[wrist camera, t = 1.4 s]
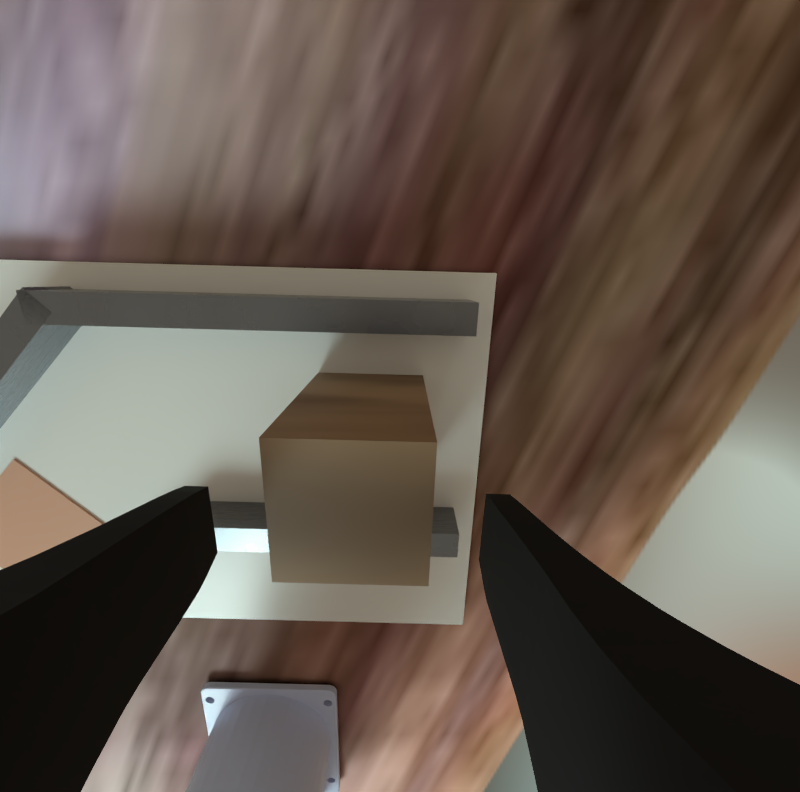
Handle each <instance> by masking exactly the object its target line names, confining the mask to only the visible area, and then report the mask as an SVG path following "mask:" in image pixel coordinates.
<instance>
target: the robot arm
mask: <svg viewBox="0 0 800 792" xmlns="http://www.w3.org/2000/svg"><path fill="white" fill-rule="evenodd" d="M217 553H218V551H217V544H216V537H215V530H214V523H213V516H212V509H211V502H210V495H209V488H208V486H183V487H180V488H178V489H175V490H173V491H170V492H168V493H166V494H164V495H162V496H159V497H157V498H155V499H153V500H151V501H149V502H147V503H145V504H143V505H141V506H139V507H137V508H135V509H133V510H130V511H128V512H126V513H124V514H122V515H120V516H118V517H116V518H114V519H112V520H110V521H108V522H106V523H104V524H102V525H100V526H98V527H96V528H94V529H92V530H89V531H87V532H85V533H83V534H81V535H78V536H76V537H74V538H72V539H70V540H68V541H65V542H63V543H61V544H59V545H57V546H54V547H52V548H50V549H48V550H46V551H44V552H41V553H39V554H37V555H35V556H32V557H30V558H28V559H25V560H23V561H21V562H18V563H16V564H13V565H11V566H9V567H6V568H4V569H1V570H0V792H81V790H82V788H83V786H84V784H85V782H86V780H87V778H88V776H89V774H90V772H91V770H92V768H93V766H94V765H95V763H96V761H97V759H98V757H99V755H100V753H101V752H102V750H103V748H104V746H105V744H106V742H107V740H108V738H109V737H110V735H111V733H112V731H113V729H114V727H115V725H116V724H117V722H118V720H119V718H120V716H121V714H122V712H123V711H124V709H125V707H126V706H127V704H128V702H129V701H130V699H131V697H132V696H133V694H134V692H135V691H136V689H137V687H138V686H139V684H140V682H141V681H142V679H143V678H144V676H145V675H146V673H147V672H148V670H149V669H150V667H151V665H152V664H153V662H154V661H155V659H156V658H157V656H158V655H159V653H160V652H161V650H162V648H163V647H164V645H165V644H166V642H167V641H168V639H169V638H170V636H171V635H172V633H173V631H174V630H175V628H176V627H177V625H178V624H179V622H180V621H181V619H182V617H183V616H184V614H185V613H186V611H187V610H188V608H189V606H190V605H191V603H192V602H193V600H194V599H195V597H196V595H197V594H198V592H199V590H200V589H201V587H202V585H203V583H204V581H205V579H206V577H207V574H208V572H209V570H210V568H211V566H212V564H213V562H214V559H215V557H216V555H217ZM479 562H480V568H481V573H482V579H483V585H484V590H485V595H486V599H487V603H488V606H489V610H490V613H491V616H492V620H493V623H494V626H495V630H496V633H497V636H498V639H499V643H500V646H501V649H502V652H503V655H504V659H505V662H506V665H507V668H508V672H509V675H510V678H511V681H512V685H513V688H514V691H515V694H516V698H517V702H518V705H519V709H520V713H521V717H522V720H523V725H524V730H525V734H526V739H527V743H528V747H529V752H530V757H531V761H532V766H533V770H534V775H535V780H536V785H537V790H538V792H800V685H799V684H797V683H795V682H793V681H791V680H789V679H787V678H785V677H783V676H781V675H779V674H777V673H775V672H773V671H771V670H769V669H767V668H765V667H763V666H761V665H758V664H757V663H755V662H753V661H751V660H749V659H747V658H745V657H744V656H742V655H740V654H738V653H736V652H734V651H732V650H730V649H728V648H727V647H725V646H723V645H721V644H719V643H717V642H716V641H714V640H712V639H711V638H709V637H707V636H705V635H704V634H702V633H700V632H698V631H696V630H695V629H693V628H691V627H689V626H688V625H686V624H684V623H682V622H681V621H679V620H677V619H676V618H674V617H672V616H671V615H669V614H667V613H666V612H664V611H662V610H661V609H659V608H658V607H656V606H654V605H653V604H651V603H650V602H648V601H647V600H645V599H644V598H642V597H641V596H639V595H638V594H636V593H635V592H633V591H631V590H630V589H628V588H627V587H625V586H624V585H622V584H621V583H620V582H618V581H617V580H615V579H614V578H612V577H611V576H609V575H608V574H607V573H605V572H604V571H603V570H601V569H600V568H599V567H597V566H596V565H595V564H593V563H592V562H591V561H589V560H588V559H587V558H585V557H584V556H583V555H581V554H580V553H579V552H578V551H576V550H575V549H574V548H573V547H571V546H570V545H569V544H568V543H566V542H565V541H564V540H563V539H561V538H560V537H559V536H558V535H557V534H555V533H554V532H553V531H552V530H551V529H550V528H548V527H547V526H546V525H545V524H544V523H543V522H541V521H540V520H539V519H538V518H537V517H536V516H534V515H533V514H532V513H531V512H530V511H529V510H528V509H526V508H525V507H524V506H523V505H522V504H521V503H519V502H518V501H517V500H516V499H515V498H513V497H512V496H511V495H506V494H486V500H485V509H484V518H483V528H482V537H481V546H480V556H479ZM201 697H202V702H203V708H204V713H205V719H206V724H207V730H208V735H209V738H208V740H207V742H206V745H205V747H204V749H203V752H202V754H201V756H200V759H199V761H198V764H197V766H196V768H195V771H194V773H193V775H192V778H191V780H190V782H189V785H188V787H187V789H186V792H339V788H340V768H339V737H338V706H337V690H336V688H335V687H334V686H332V685H318V684H279V683H240V682H207V683H205V685H204V686H203V688H202V690H201Z"/></svg>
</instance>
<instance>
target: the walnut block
mask: <svg viewBox="0 0 800 792" xmlns="http://www.w3.org/2000/svg"><path fill="white" fill-rule="evenodd" d="M259 446H260V457H261V467H262V478H263V489H264V500H265V511H266V522H267V533H268V543H269V554H270V565H271V576H272V582H283V583H321V584H359V585H398V586H429V571H430V555H431V538H432V522H433V505H434V488H435V472H436V455H437V439H436V434H435V430H434V425H433V420H432V416H431V411H430V406H429V402H428V397H427V392H426V387H425V383H424V378H423V375H394V374H357V373H320V372H318V373H317V374H316V376H315V377H314V378H313V379H312V380H311V381H310V382H309V383H308V384H307V385H306V387H305V388H304V389H303V390H302V391H301V392H300V393H299V394H298V395H297V396H296V397H295V399H294V400H293V401H292V402H291V403H290V404H289V405H288V406H287V407H286V408H285V410H284V411H283V412H282V413H281V414H280V415H279V416H278V417H277V418H276V419H275V421H274V422H273V423H272V424H271V425H270V426H269V427H268V428H267V429H266V430H265V431H264V433H263V434H262V435H261V436H260V437H259Z"/></svg>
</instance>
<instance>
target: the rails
mask: <svg viewBox="0 0 800 792" xmlns="http://www.w3.org/2000/svg"><path fill="white" fill-rule="evenodd" d="M16 293H17V295H16V296H15V297H14V299H13V300H12V302H11V303H10V304H9V306H8V307H7V309H6V310H5V311H4V313H3V314H2V315H1V317H0V428H1V427H2V426H3V425H4V423H5V422H6V421H7V420H8V418H9V417H10V416H11V415H12V413H13V412H14V411H15V409H16V408H17V407H18V406H19V404H20V403H21V402H22V401H23V399H24V398H25V397H26V396H27V394H28V393H29V392H30V390H31V389H32V388H33V387H34V385H35V384H36V383H37V382H38V380H39V379H40V378H41V377H42V375H43V374H44V373H45V371H46V370H47V369H48V368H49V366H50V365H51V364H52V363H53V361H54V360H55V359H56V358H57V356H58V355H59V354H60V353H61V351H62V350H63V349H64V347H65V346H66V345H67V344H68V342H69V341H70V340H71V339H72V337H73V336H74V335H75V334H76V332H77V331H78V330H79V328H80V327H81V326H107V327H144V328H181V329H218V330H255V331H292V332H329V333H366V334H403V335H440V336H476V334H477V322H478V310H479V302H476V301H472V300H462V299H425V298H388V297H351V296H314V295H278V294H241V293H204V292H167V291H130V290H94V289H72V288H71V287H70V286H59V287H22V288H21V289H20V290H16ZM210 502H211V509H212V516H213V523H214V530H215V537H216V544H217V551H232V552H269V543H268V533H267V522H266V511H265V502H229V501H210ZM458 544H459V531H458V526H457V522H456V517H455V513H454V508H453V507H433V522H432V538H431V555H430V557H457V555H458Z"/></svg>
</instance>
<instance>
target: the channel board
mask: <svg viewBox="0 0 800 792" xmlns="http://www.w3.org/2000/svg"><path fill="white" fill-rule="evenodd" d="M496 277H497V273H474V272H437V271H400V270H364V269H327V268H290V267H254V266H217V265H180V264H144V263H107V262H70V261H34V260H0V317H1V315H2V314H3V313H4V311H5V310H6V309H7V307H8V306H9V304H10V303H11V302H12V300H13V299H14V297H15V296H16V295H17V293H16V290H20V289H21V288H22V287H59V286H70V287H71V288H72V289H94V290H130V291H167V292H204V293H241V294H278V295H314V296H351V297H388V298H425V299H462V300H472V301H476V302H479V310H478V322H477V334H476V336H440V335H403V334H366V333H329V332H292V331H255V330H218V329H181V328H144V327H107V326H81V327H80V328H79V330H78V331H77V332H76V334H75V335H74V336H73V337H72V339H71V340H70V341H69V342H68V344H67V345H66V346H65V347H64V349H63V350H62V351H61V353H60V354H59V355H58V356H57V358H56V359H55V360H54V361H53V363H52V364H51V365H50V366H49V368H48V369H47V370H46V371H45V373H44V374H43V375H42V377H41V378H40V379H39V380H38V382H37V383H36V384H35V385H34V387H33V388H32V389H31V390H30V392H29V393H28V394H27V396H26V397H25V398H24V399H23V401H22V402H21V403H20V404H19V406H18V407H17V408H16V409H15V411H14V412H13V413H12V415H11V416H10V417H9V418H8V420H7V421H6V422H5V423H4V425H3V426H2V427H1V428H0V570H1V569H4V568H6V567H9V566H11V565H13V564H16V563H18V562H21V561H23V560H25V559H28V558H30V557H32V556H35V555H37V554H39V553H41V552H44V551H46V550H48V549H50V548H52V547H54V546H57V545H59V544H61V543H63V542H65V541H68V540H70V539H72V538H74V537H76V536H78V535H81V534H83V533H85V532H87V531H89V530H92V529H94V528H96V527H98V526H100V525H102V524H104V523H106V522H108V521H110V520H112V519H114V518H116V517H118V516H120V515H122V514H124V513H126V512H128V511H130V510H133V509H135V508H137V507H139V506H141V505H143V504H145V503H147V502H149V501H151V500H153V499H155V498H157V497H159V496H162V495H164V494H166V493H168V492H170V491H173V490H175V489H178V488H180V487H183V486H208V488H209V495H210V501H229V502H265V500H264V489H263V478H262V467H261V457H260V446H259V437H260V436H261V435H262V434H263V433H264V431H265V430H266V429H267V428H268V427H269V426H270V425H271V424H272V423H273V422H274V421H275V419H276V418H277V417H278V416H279V415H280V414H281V413H282V412H283V411H284V410H285V408H286V407H287V406H288V405H289V404H290V403H291V402H292V401H293V400H294V399H295V397H296V396H297V395H298V394H299V393H300V392H301V391H302V390H303V389H304V388H305V387H306V385H307V384H308V383H309V382H310V381H311V380H312V379H313V378H314V377H315V376H316V374H317V373H318V372H320V373H357V374H394V375H423V378H424V383H425V387H426V392H427V397H428V402H429V406H430V411H431V416H432V420H433V425H434V430H435V434H436V439H437V455H436V472H435V488H434V505H433V507H453V508H454V513H455V517H456V522H457V526H458V531H459V544H458V555H457V557H430V571H429V586H398V585H359V584H321V583H283V582H272V576H271V565H270V554H269V552H232V551H218V553H217V555H216V557H215V559H214V562H213V564H212V566H211V568H210V570H209V572H208V574H207V577H206V579H205V581H204V583H203V585H202V587H201V589H200V590H199V592H198V594H197V595H196V597H195V599H194V600H193V602H192V603H191V605H190V606H189V608H188V610H187V611H186V613H185V614H184V616H183V618H221V619H260V620H299V621H337V622H376V623H414V624H453V625H463V617H464V606H465V596H466V586H467V576H468V565H469V555H470V545H471V534H472V524H473V514H474V503H475V493H476V483H477V473H478V462H479V452H480V442H481V431H482V421H483V411H484V400H485V390H486V380H487V370H488V359H489V349H490V339H491V328H492V318H493V308H494V297H495V287H496Z"/></svg>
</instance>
